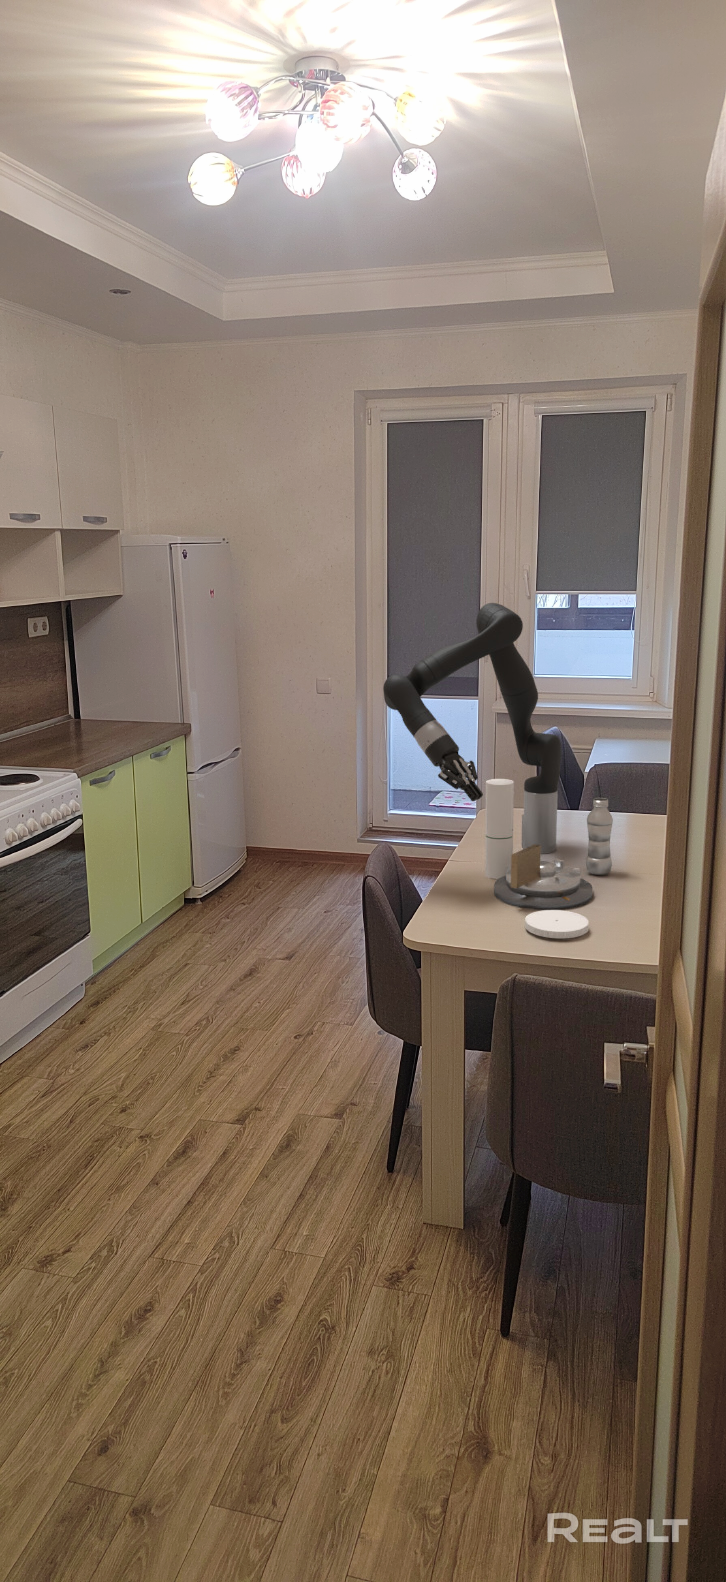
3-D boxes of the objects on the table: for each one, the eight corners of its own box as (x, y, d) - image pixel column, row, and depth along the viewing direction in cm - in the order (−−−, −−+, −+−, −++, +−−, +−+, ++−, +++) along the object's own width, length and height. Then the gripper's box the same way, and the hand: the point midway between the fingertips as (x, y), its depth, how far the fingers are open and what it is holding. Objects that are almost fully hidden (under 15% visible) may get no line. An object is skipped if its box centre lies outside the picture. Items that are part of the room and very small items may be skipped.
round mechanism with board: (529, 869, 269) (530, 828, 266) (593, 882, 258) (594, 839, 255) (481, 892, 251) (481, 849, 249) (547, 907, 240) (548, 861, 238)
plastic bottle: (612, 878, 268) (614, 802, 263) (585, 877, 269) (587, 802, 265) (611, 870, 274) (614, 796, 270) (585, 869, 275) (587, 796, 271)
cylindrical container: (514, 872, 274) (516, 779, 269) (509, 880, 268) (510, 785, 262) (488, 869, 277) (489, 778, 271) (482, 877, 270) (483, 784, 265)
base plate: (476, 886, 264) (476, 877, 263) (558, 874, 272) (559, 866, 272) (524, 915, 242) (524, 906, 241) (612, 901, 250) (612, 893, 250)
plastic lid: (518, 921, 239) (518, 911, 239) (578, 919, 240) (578, 908, 240) (533, 944, 226) (533, 933, 225) (596, 941, 227) (596, 930, 226)
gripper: (429, 737, 248) (472, 794, 243) (460, 729, 258) (502, 783, 253) (411, 757, 252) (453, 813, 247) (442, 748, 262) (484, 802, 258)
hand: (478, 798), depth 250 cm, fingers closed
